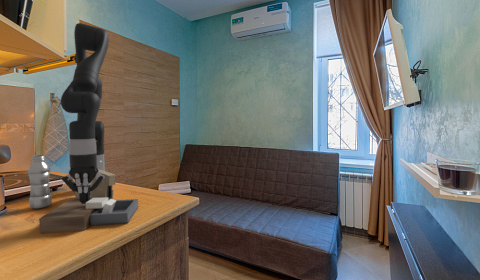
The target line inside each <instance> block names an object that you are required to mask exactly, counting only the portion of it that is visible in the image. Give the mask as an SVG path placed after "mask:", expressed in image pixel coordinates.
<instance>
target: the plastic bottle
mask: <svg viewBox="0 0 480 280" xmlns="http://www.w3.org/2000/svg"><path fill="white" fill-rule="evenodd" d="M45 161H46V155H44V154H42V155H41V154H40V155H39V154H37V155H32V156H31V162H32V163H31V164H30V165H29V166H28V169H27V174H28V175H27V176H28V178H29V186H30V193H29V196H30V197H29V199H28V200H29V201H28V204H29V208H31V209H43V208H46V207H49V206H50V205H51V204H52V200H53V199H52V194H51V191H50V174H51V168H50V165H49V164H48V163H46V162H45Z"/></svg>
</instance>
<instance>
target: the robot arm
mask: <svg viewBox="0 0 480 280" xmlns="http://www.w3.org/2000/svg"><path fill="white" fill-rule="evenodd" d="M73 36H74V50H75V59H76V60H75V61H76V67H75V70H74V73H73V77H72V81H71V82H70V83H69V85H68V86H67V87H66V88H65V90H64V91H63V93H62V95H61V98H60V106H61V108H62V109H63V111H65V112H66V113H67V114H68V113H69V114H77V115H76V117H77V118H76V119H77V120H73V121H70V123H69V125H68V127H69V129H68V130H69V143H68V144H69V145H68V154H69V157H68V158H69V167H70V169H69V171H68V174H67V175H65V176H62V178H61V181H62V182H63V183H64V184H65V185H66V186H67V187H68V188H69V189H70V190H71V191H72V192H74V193H75V191H76V192H79V200H80V202H81V204H86V202H88V201H89V200H91V194H90V192H91V191H93V190H94V189H96V188H97V187H98V186H99V184H100V183H101V182H102V181H103V179H104V178H105V177H106V176H105V175H102V174H100V173H99V171H98V169H100V170H103V171H106V167H105V166H106V165H105V161H106V160H105V126H104V123H103V122H102V121H100V120H97V117H98V114H99V110H100V108H101V99H102V97H103V81H102V80H101V78H100V71H101V68H102V66H103V64H104V61H105V57H106V55H107V52H108V48H109V41H110V39H109V34H108V31H107V29H103V28H100V27H96V26H93V25H89V24H87V23H86V24H85V23H82V22H81V23H79V22H78V23H76V24H75V25H74V35H73ZM87 51H89V52H93V53H92V54H90V55H89V56H88V55H87ZM95 176H96V181H95V183H94V184H93V185H92V186H91V184H92V180H93V179H94V178H95ZM75 181H76V183H75Z"/></svg>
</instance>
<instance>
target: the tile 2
mask: <svg viewBox="0 0 480 280" xmlns="http://www.w3.org/2000/svg"><path fill="white" fill-rule="evenodd" d="M116 200H117V199H114V198H113V199H110V200H109V201H108V202H107V203H105V206H104V208H103V211H102V213H112V210H113V208H114V205H115V203H116Z"/></svg>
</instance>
